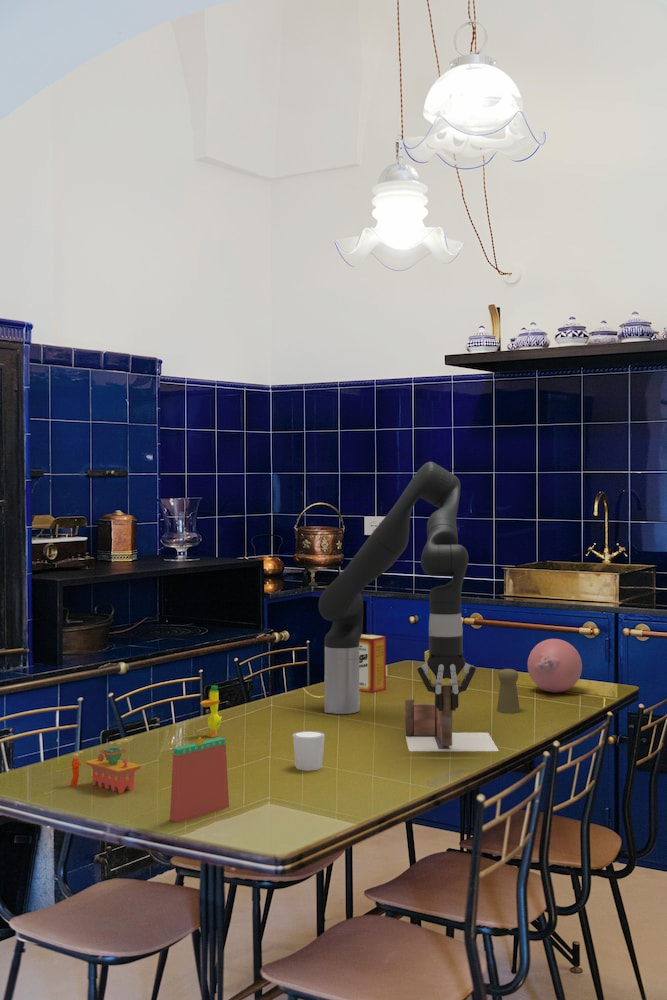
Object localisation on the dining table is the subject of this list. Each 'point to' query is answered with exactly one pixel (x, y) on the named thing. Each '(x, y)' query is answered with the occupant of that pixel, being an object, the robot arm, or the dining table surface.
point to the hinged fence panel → (445, 717)
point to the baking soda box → (372, 663)
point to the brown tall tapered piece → (508, 692)
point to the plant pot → (431, 674)
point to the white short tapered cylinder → (308, 750)
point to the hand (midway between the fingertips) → (446, 709)
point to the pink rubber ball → (554, 665)
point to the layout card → (458, 742)
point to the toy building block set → (193, 776)
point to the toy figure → (213, 710)
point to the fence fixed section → (420, 718)
